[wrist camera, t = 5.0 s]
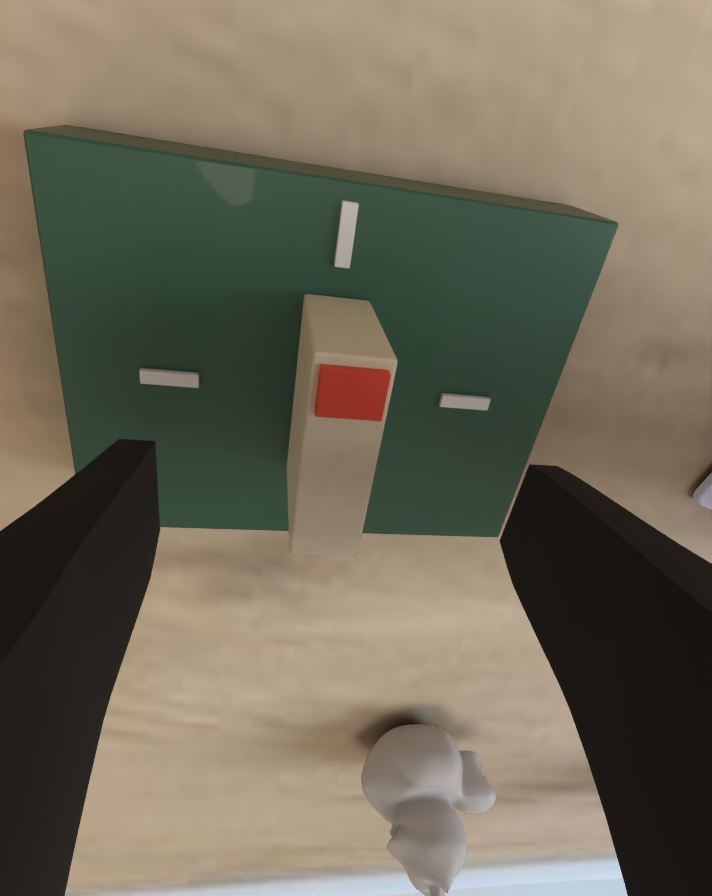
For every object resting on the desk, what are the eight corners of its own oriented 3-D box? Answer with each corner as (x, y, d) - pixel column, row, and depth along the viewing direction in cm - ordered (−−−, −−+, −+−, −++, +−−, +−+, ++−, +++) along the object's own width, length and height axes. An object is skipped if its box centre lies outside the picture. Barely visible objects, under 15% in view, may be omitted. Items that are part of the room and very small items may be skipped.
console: (572, 205, 15) (624, 224, 13) (475, 492, 20) (500, 541, 18) (63, 124, 12) (18, 130, 10) (104, 475, 18) (80, 529, 15)
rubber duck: (365, 705, 27) (395, 905, 20) (488, 702, 28) (555, 890, 21) (348, 763, 29) (370, 955, 23) (460, 758, 31) (511, 939, 24)
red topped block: (341, 469, 16) (359, 564, 12) (286, 466, 15) (289, 563, 12) (370, 300, 13) (401, 365, 10) (304, 292, 13) (314, 357, 9)
